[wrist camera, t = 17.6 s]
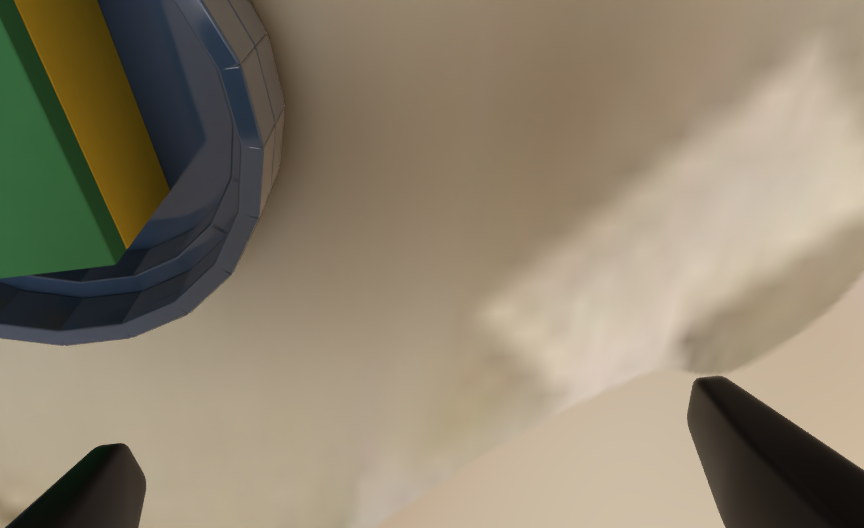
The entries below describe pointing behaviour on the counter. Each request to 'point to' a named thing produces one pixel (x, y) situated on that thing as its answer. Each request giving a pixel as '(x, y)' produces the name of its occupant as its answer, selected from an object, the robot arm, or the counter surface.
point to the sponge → (68, 142)
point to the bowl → (173, 173)
